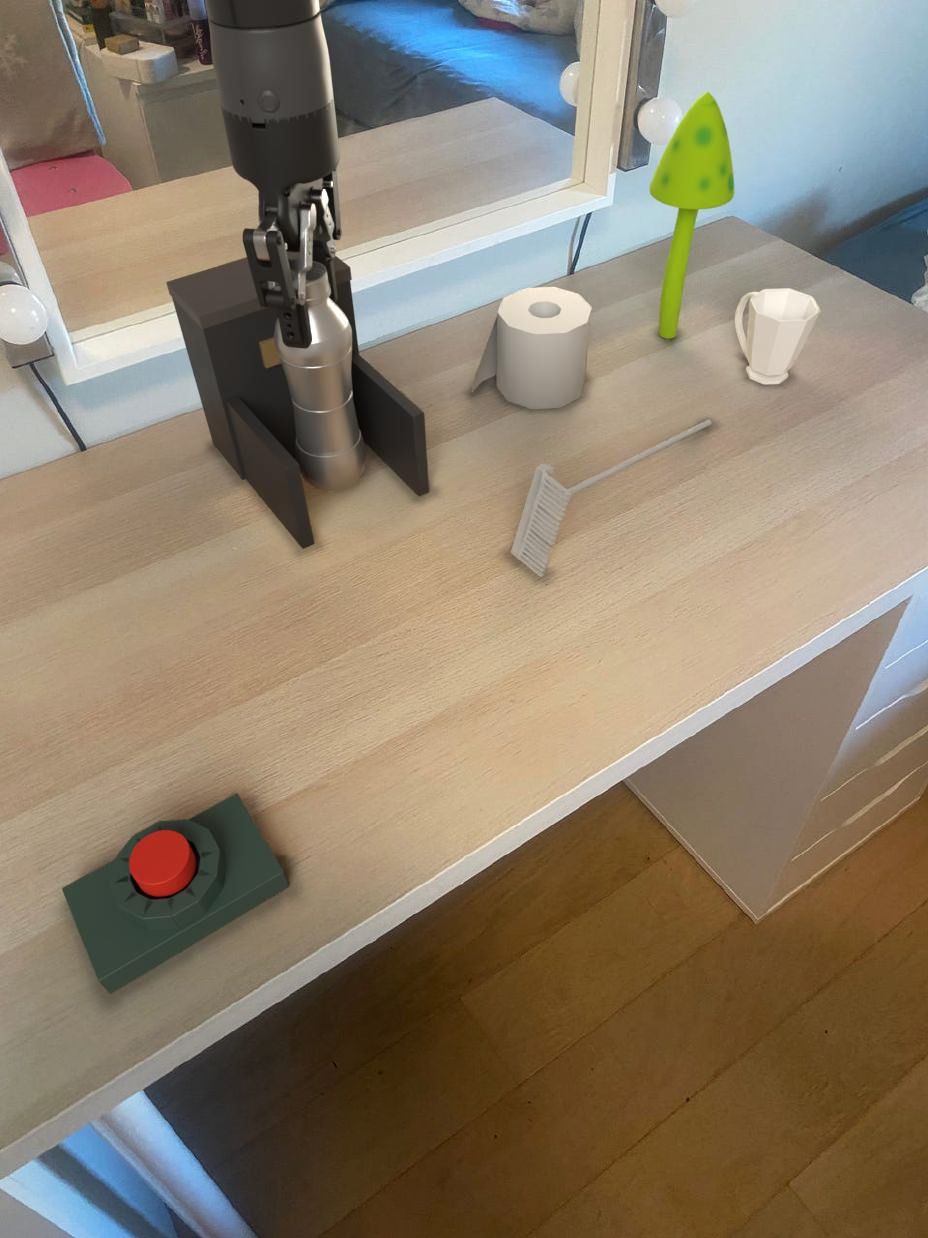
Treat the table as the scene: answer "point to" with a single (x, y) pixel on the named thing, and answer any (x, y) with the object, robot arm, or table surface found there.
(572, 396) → the toilet tissue
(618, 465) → the brush
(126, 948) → the control pad
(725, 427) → the table surface
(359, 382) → the dark box with flaps
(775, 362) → the cup
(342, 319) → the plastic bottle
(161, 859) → the stop button
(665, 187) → the mushroom
